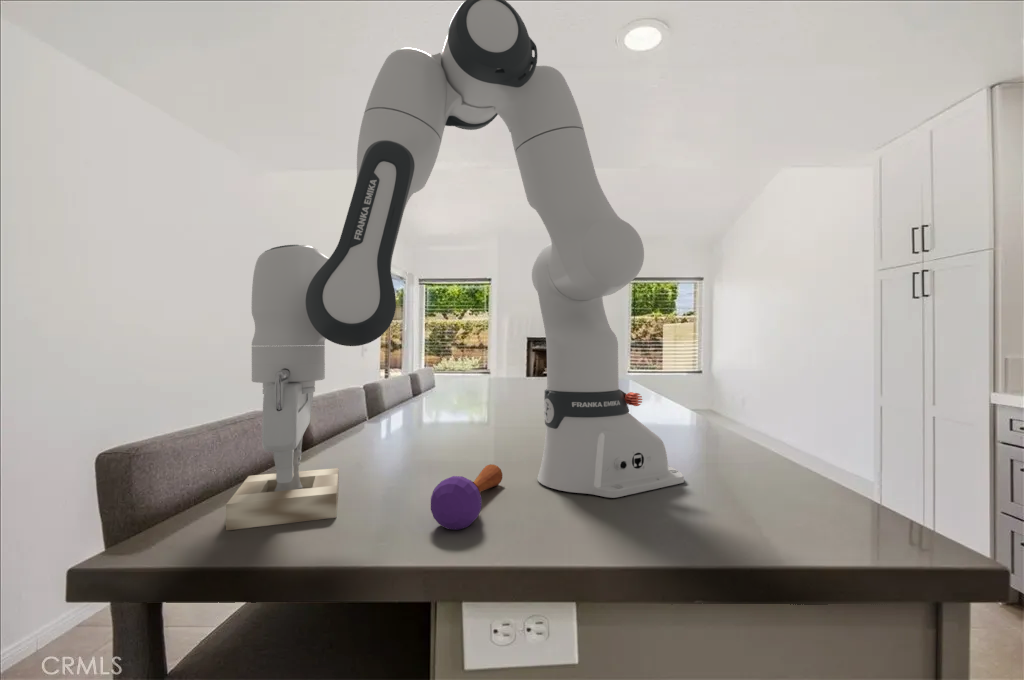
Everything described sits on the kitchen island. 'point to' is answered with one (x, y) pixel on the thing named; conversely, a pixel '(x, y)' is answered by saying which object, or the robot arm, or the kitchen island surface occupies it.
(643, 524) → the kitchen island surface
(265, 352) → the robot arm
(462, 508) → the purple maraca
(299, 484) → the rook chess piece
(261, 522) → the square wooden frame
